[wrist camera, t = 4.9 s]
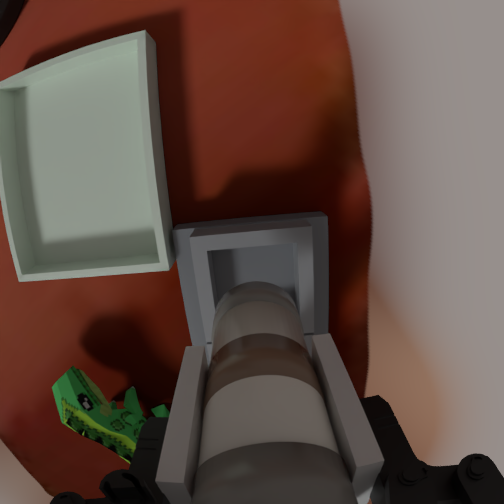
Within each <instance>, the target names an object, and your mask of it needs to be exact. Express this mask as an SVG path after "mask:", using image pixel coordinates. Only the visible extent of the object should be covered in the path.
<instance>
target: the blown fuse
mask: <svg viewBox="0 0 504 504" xmlns="http://www.w3.org/2000/svg"><path fill="white" fill-rule="evenodd" d="M211 340H212V352H211V359H210V364H209V368H208V373H207V381H206V389H205V397H204V405H203V414H202V419H203V426H202V435H201V444H200V454H199V463H198V469H197V470H196V472H195V474H194V478H193V486H192V496H191V504H358V501H357V498H356V495H355V491H354V488H353V484H352V481H351V478H350V474H349V471H348V468H347V464H346V462H345V460H344V459H343V458H342V457H341V456H340V453H339V450H338V446H337V443H336V440H335V436H334V433H333V430H332V426H331V423H330V420H329V416H328V413H327V406H326V401H325V398H324V395H323V392H322V389H321V385H320V382H319V379H318V376H317V373H316V370H315V366H314V363H313V360H312V358H311V356H310V354H309V352H308V348H307V345H306V342H305V339H304V330H303V326H302V323H301V320H300V317H299V314H298V311H297V308H296V305H295V303H294V301H293V299H292V298H291V296H290V295H289V294H288V293H287V292H286V291H285V290H283V289H282V288H280V287H279V286H277V285H274V284H271V283H268V282H262V281H252V282H246V283H242V284H240V285H237V286H235V287H233V288H232V289H230V290H229V291H228V292H226V293H225V294H224V295H223V297H222V298H221V299H220V301H219V302H218V304H217V307H216V310H215V314H214V321H213V328H212V337H211Z"/></svg>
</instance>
